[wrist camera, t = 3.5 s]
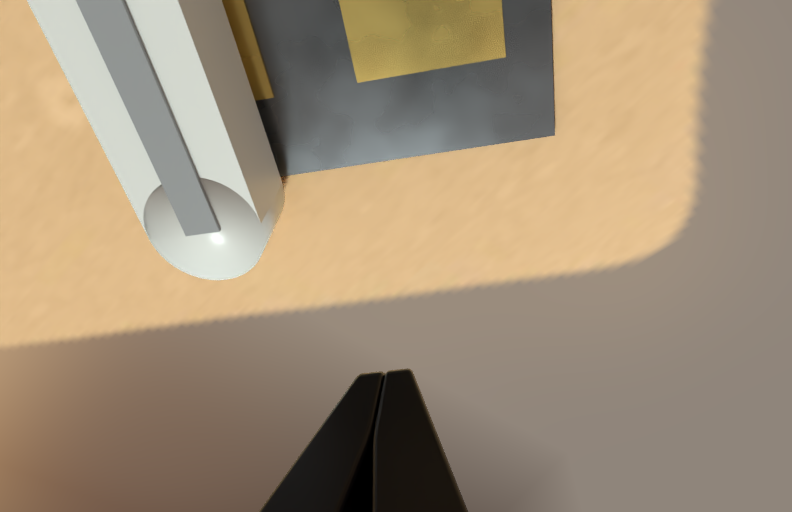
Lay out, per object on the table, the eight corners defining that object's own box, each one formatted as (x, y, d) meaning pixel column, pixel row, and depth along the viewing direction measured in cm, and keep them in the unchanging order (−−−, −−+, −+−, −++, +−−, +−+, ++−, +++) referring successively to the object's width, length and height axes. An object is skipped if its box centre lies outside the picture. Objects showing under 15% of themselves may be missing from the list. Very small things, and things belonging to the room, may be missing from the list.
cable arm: (104, -354, 13) (18, -418, 10) (297, 228, 21) (278, 275, 19) (-44, -307, 13) (-161, -355, 11) (202, 241, 22) (171, 288, 19)
